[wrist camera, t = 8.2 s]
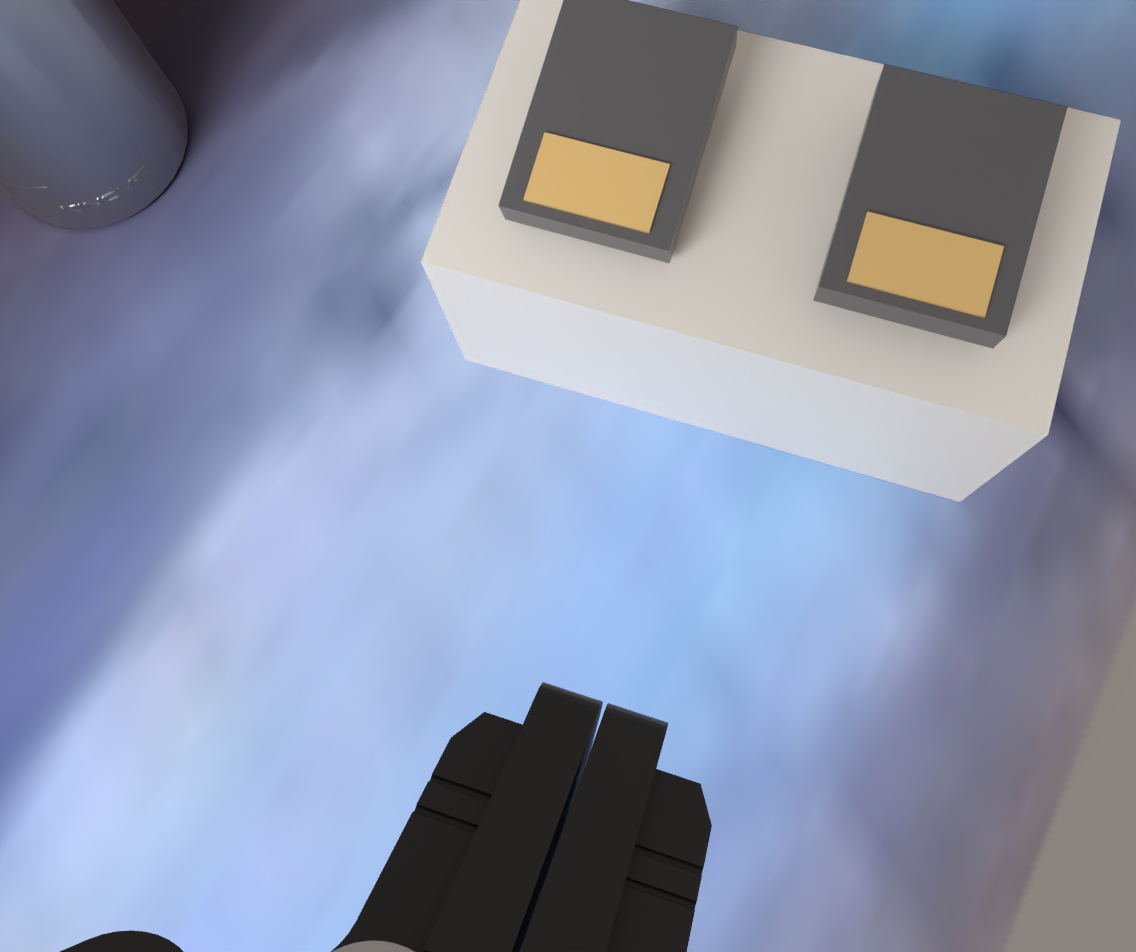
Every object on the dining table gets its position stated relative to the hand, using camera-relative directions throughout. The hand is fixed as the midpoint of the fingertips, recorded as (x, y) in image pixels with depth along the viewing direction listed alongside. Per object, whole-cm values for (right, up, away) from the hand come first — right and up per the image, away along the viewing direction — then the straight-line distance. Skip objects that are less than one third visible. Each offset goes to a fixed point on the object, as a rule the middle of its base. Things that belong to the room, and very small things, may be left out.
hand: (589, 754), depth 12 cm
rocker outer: (+12, +12, +23) cm, 29 cm away
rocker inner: (+2, +15, +24) cm, 29 cm away
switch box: (+8, +11, +35) cm, 37 cm away
